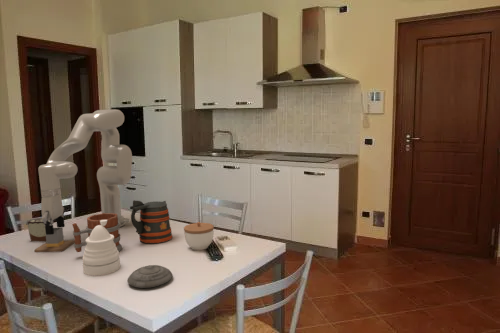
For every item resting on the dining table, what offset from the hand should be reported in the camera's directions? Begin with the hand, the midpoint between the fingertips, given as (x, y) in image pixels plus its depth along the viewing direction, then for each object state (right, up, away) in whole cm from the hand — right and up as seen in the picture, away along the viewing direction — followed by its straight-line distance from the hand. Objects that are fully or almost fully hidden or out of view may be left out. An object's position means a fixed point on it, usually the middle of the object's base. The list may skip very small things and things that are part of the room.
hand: (55, 230), depth 168 cm
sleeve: (0, -6, 0) cm, 6 cm away
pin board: (0, -7, 0) cm, 7 cm away
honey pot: (+30, -10, -25) cm, 41 cm away
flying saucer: (+51, -12, -37) cm, 64 cm away
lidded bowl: (+64, -7, -4) cm, 64 cm away
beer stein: (+41, -6, +7) cm, 42 cm away
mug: (+22, -8, -7) cm, 25 cm away
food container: (-11, -6, +11) cm, 17 cm away
